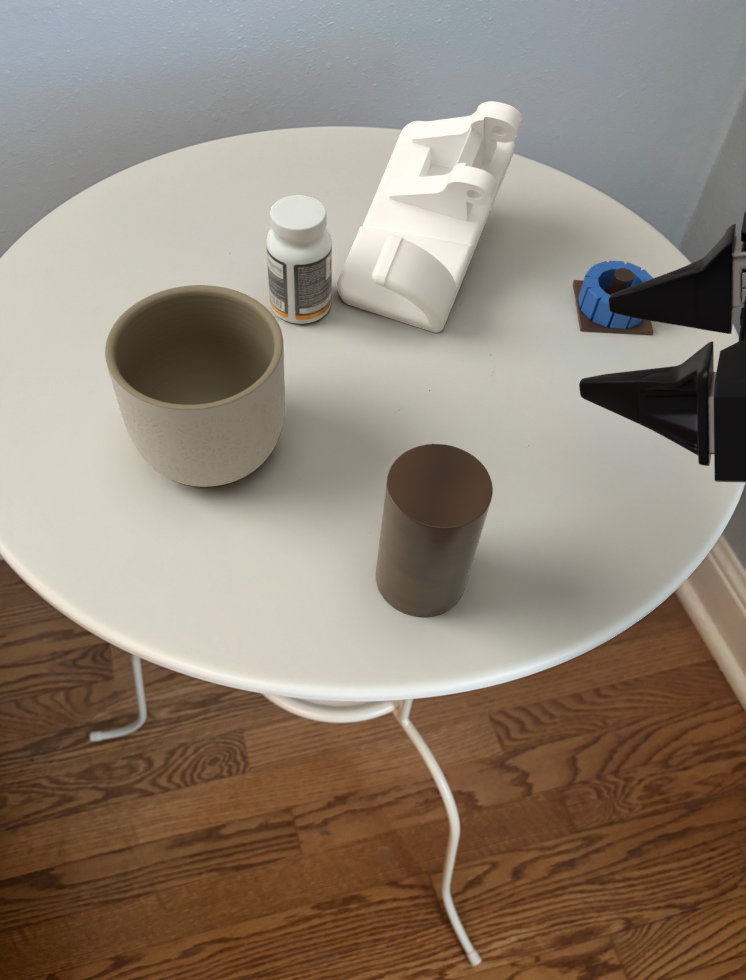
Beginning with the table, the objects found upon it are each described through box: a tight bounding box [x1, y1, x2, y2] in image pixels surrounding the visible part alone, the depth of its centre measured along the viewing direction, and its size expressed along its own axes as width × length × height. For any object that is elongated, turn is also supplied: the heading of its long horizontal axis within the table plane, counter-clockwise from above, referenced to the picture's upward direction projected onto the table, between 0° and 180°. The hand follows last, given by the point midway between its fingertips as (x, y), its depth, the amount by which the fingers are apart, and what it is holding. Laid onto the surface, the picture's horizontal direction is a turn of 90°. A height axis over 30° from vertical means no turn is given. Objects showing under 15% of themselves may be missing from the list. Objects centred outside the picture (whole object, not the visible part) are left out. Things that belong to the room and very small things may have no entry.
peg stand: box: [572, 268, 655, 336], centre depth 76 cm, size 7×7×4 cm
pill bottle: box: [265, 194, 333, 325], centre depth 73 cm, size 6×6×10 cm
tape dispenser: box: [336, 100, 524, 334], centre depth 76 cm, size 20×11×13 cm, turn 156°
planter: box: [104, 284, 286, 488], centre depth 63 cm, size 12×12×11 cm
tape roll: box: [578, 260, 654, 329], centre depth 77 cm, size 6×6×2 cm
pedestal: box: [375, 443, 494, 618], centre depth 57 cm, size 7×7×11 cm
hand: (595, 343), depth 50 cm, fingers open, 9 cm apart
